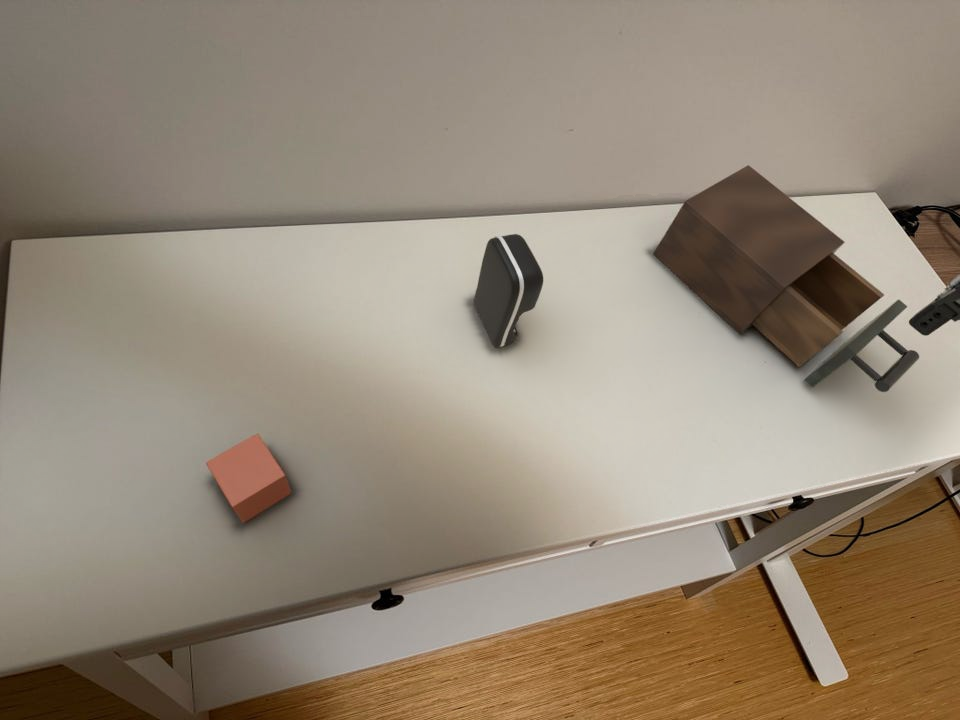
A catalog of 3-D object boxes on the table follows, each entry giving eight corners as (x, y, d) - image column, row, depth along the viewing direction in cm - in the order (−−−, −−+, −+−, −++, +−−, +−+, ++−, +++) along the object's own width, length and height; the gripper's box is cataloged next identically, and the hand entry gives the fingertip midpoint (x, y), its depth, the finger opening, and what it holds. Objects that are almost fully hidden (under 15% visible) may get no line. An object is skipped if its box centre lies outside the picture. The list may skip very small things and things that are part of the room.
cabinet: (797, 290, 75) (845, 241, 68) (739, 334, 70) (785, 287, 62) (712, 217, 80) (748, 164, 72) (652, 253, 75) (684, 200, 67)
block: (292, 493, 52) (285, 475, 48) (243, 523, 50) (232, 507, 46) (266, 453, 54) (257, 432, 50) (217, 481, 52) (205, 462, 48)
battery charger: (526, 342, 64) (553, 276, 55) (494, 351, 63) (516, 285, 54) (501, 293, 67) (523, 223, 58) (471, 300, 66) (488, 229, 57)
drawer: (895, 371, 70) (946, 337, 63) (847, 420, 65) (897, 389, 58) (775, 267, 75) (810, 227, 69) (722, 305, 71) (755, 266, 64)
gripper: (1118, 265, 41) (921, 385, 55) (1168, 199, 47) (978, 323, 61) (1019, 197, 43) (856, 329, 58) (1078, 143, 49) (916, 275, 64)
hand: (919, 326), depth 60 cm, fingers closed
